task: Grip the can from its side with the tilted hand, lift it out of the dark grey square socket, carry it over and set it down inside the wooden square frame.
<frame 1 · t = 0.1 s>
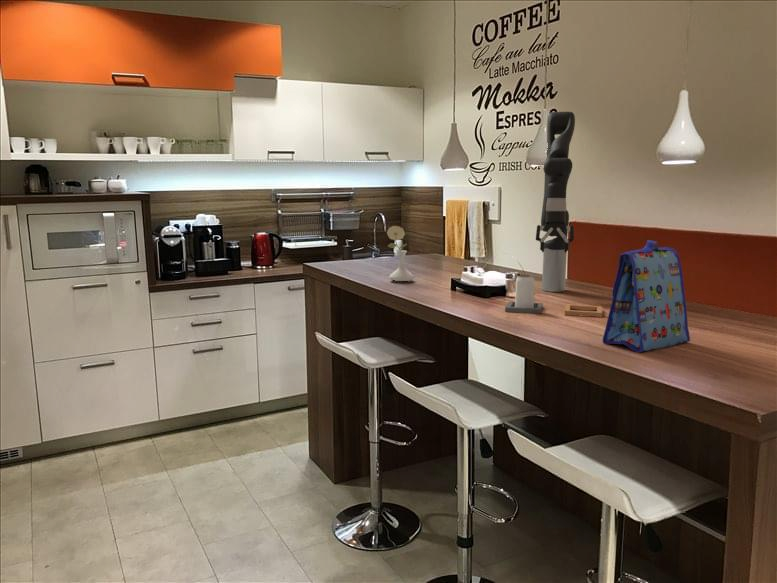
hand: (554, 252, 252), 17 cm above the bar counter, tool pointing down, fingers open, 8 cm apart
grey socket: (524, 309, 229), on the bar counter
lunch bag: (645, 344, 182), on the bar counter
can: (524, 309, 229), resting in grey socket
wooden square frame: (583, 312, 223), on the bar counter
flower in vase: (399, 281, 290), on the bar counter
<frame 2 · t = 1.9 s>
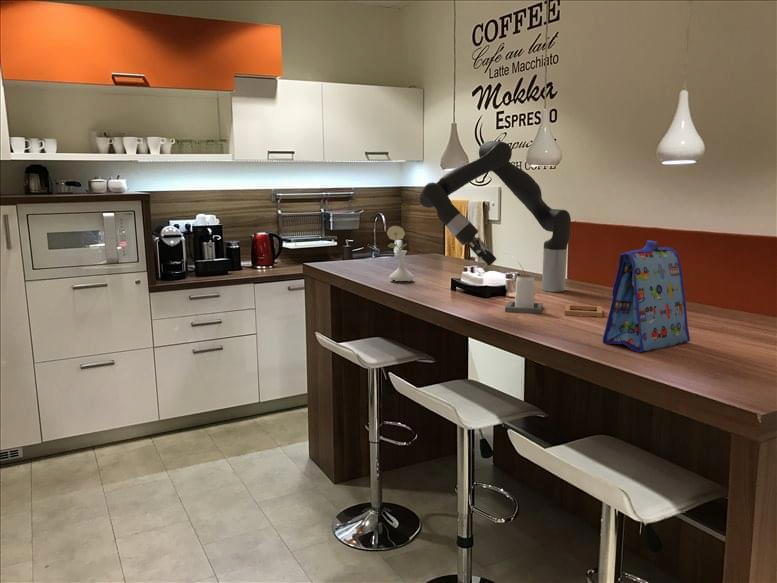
hand: (493, 262, 229), 16 cm above the bar counter, tool tilted 45°, fingers open, 8 cm apart
nothing on the bar counter moved.
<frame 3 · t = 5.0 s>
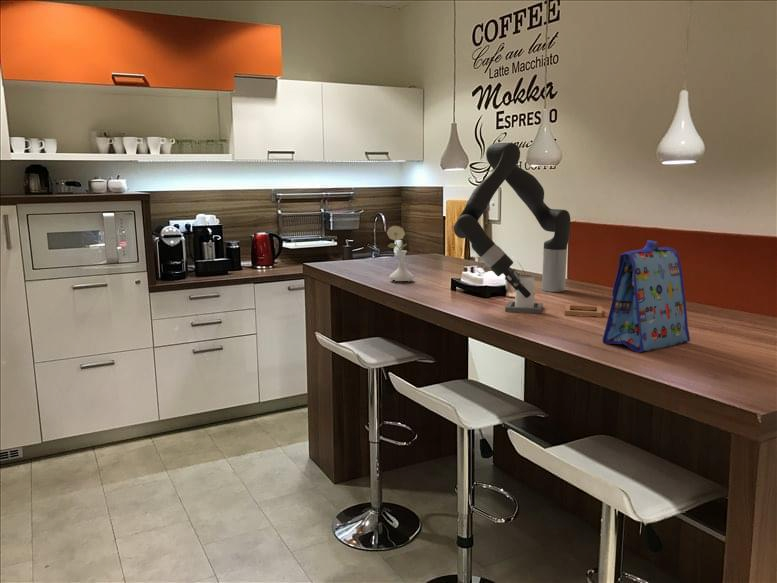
hand: (529, 294, 227), 5 cm above the bar counter, tool tilted 45°, fingers closed on can, 6 cm apart
can: (524, 309, 229), resting in grey socket, touching gripper
everything else where it was.
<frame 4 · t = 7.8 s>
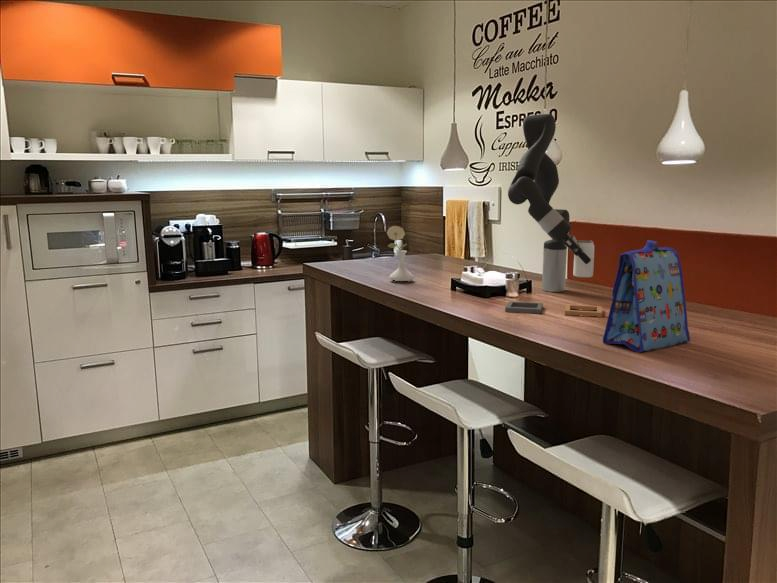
hand: (588, 260, 220), 18 cm above the bar counter, tool tilted 45°, fingers closed on can, 6 cm apart
can: (582, 276, 221), point 12 cm above the bar counter, touching gripper
everything else where it was.
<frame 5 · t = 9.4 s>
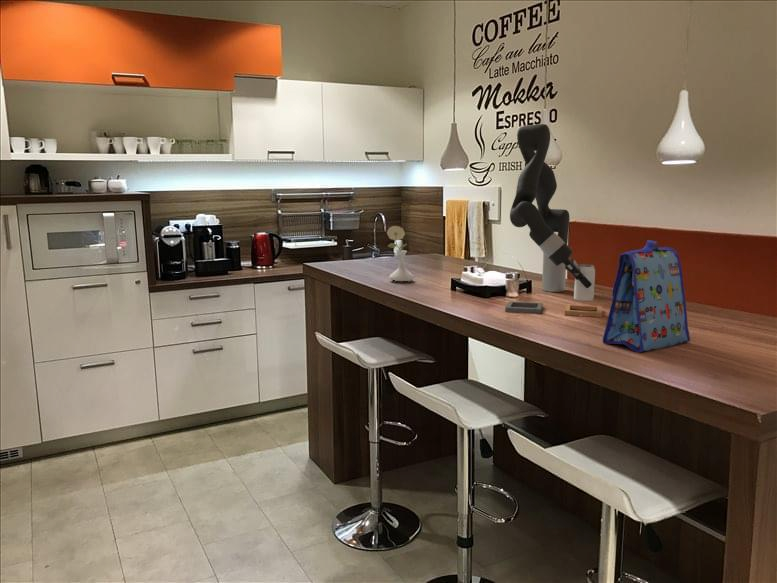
hand: (589, 284, 221), 10 cm above the bar counter, tool tilted 45°, fingers closed on can, 6 cm apart
can: (583, 300, 222), point 4 cm above the bar counter, touching gripper
everything else where it was.
when the fingers open (7 cm above the bar counter, at t = 10.6 s): can drops 1 cm, resting in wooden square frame.
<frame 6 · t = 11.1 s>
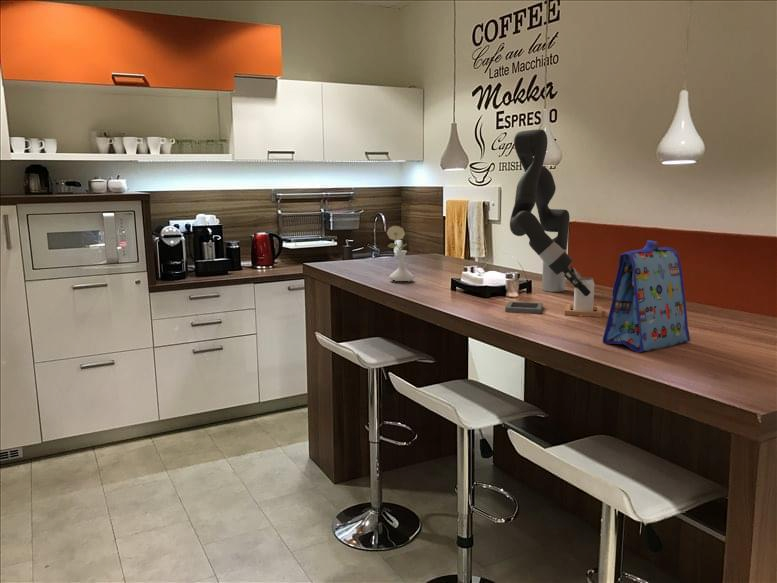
hand: (588, 292, 221), 7 cm above the bar counter, tool tilted 45°, fingers open, 8 cm apart
can: (582, 313, 223), resting in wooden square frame
everything else where it was.
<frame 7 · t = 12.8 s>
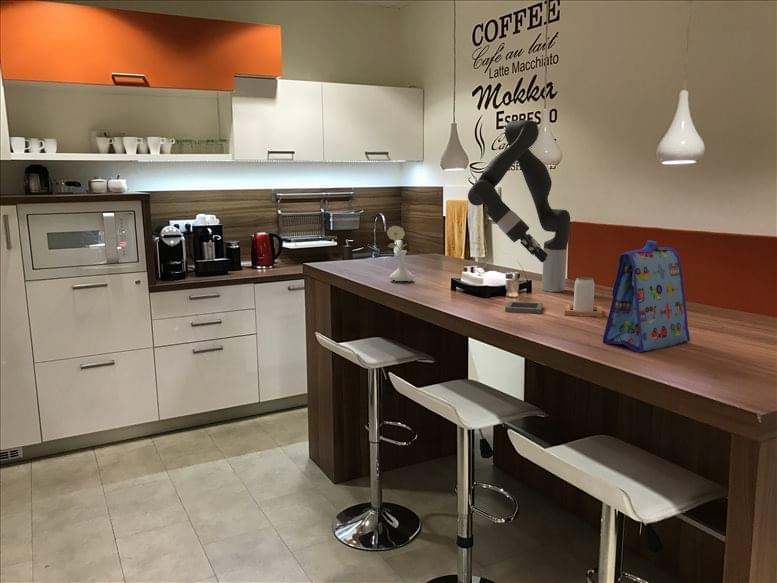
hand: (545, 259, 226), 18 cm above the bar counter, tool tilted 45°, fingers open, 8 cm apart
nothing on the bar counter moved.
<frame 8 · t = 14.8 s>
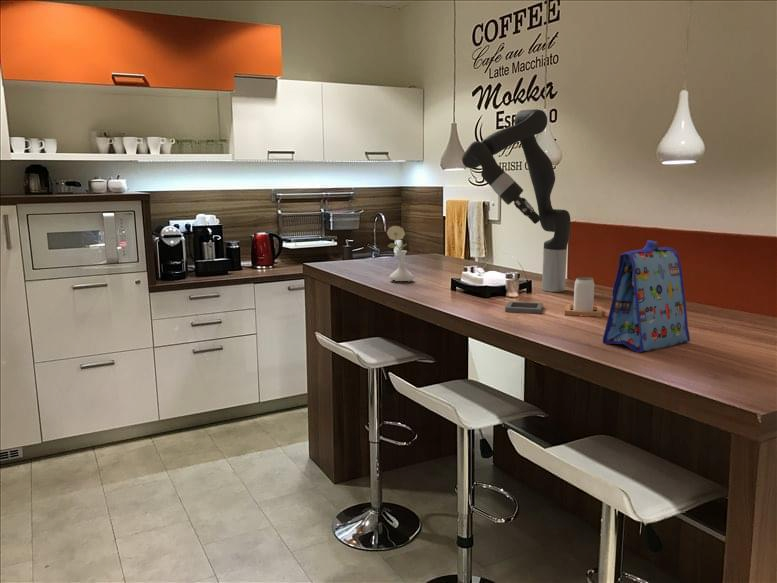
hand: (538, 221, 228), 31 cm above the bar counter, tool tilted 45°, fingers open, 8 cm apart
nothing on the bar counter moved.
at the end: can inside the target area on the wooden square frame (0.1 cm from its centre), point 0.0 cm above the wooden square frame's base; can tilted 0°; the gripper is holding nothing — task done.
